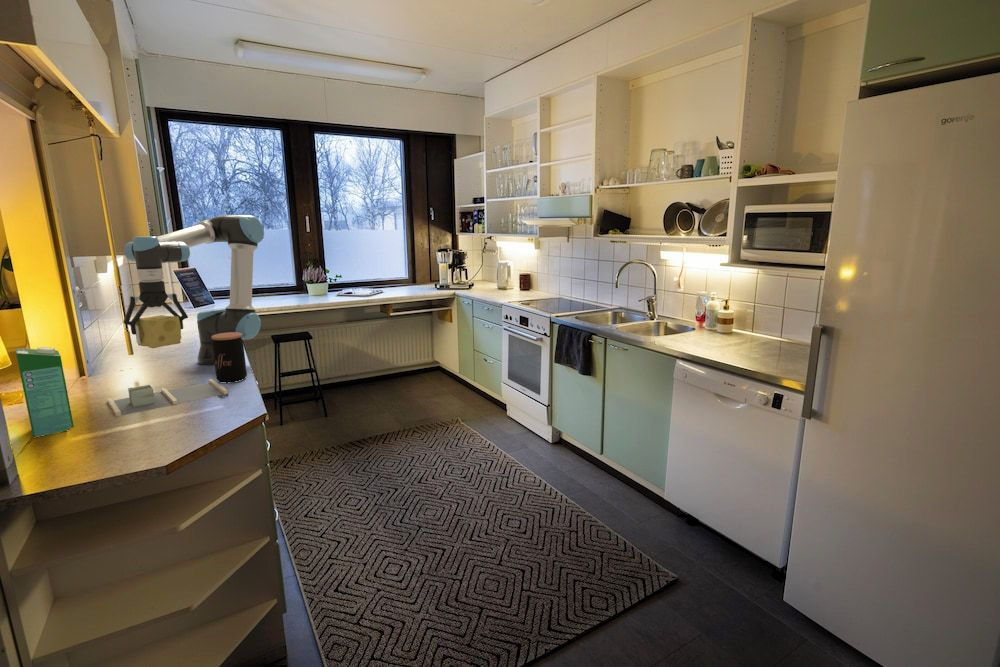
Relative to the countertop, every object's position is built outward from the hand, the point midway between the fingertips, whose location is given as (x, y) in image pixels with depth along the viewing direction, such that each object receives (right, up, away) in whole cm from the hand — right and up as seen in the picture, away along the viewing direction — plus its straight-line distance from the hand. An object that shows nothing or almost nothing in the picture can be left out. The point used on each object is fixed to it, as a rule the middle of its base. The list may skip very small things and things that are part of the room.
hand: (159, 340), depth 183 cm
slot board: (+9, -20, -8) cm, 23 cm away
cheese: (0, -2, 0) cm, 2 cm away
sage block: (+3, -21, -13) cm, 25 cm away
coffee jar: (+18, -16, +16) cm, 29 cm away
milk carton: (-9, -26, -33) cm, 43 cm away
